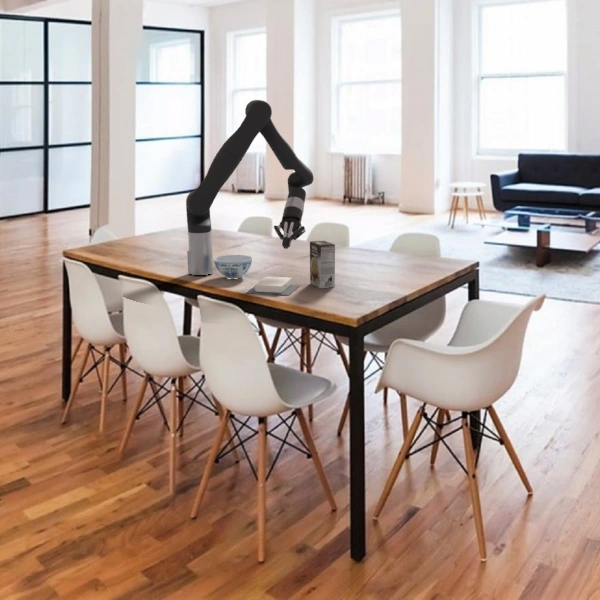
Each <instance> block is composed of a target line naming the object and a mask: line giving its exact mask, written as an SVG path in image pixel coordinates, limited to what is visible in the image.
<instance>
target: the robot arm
mask: <svg viewBox="0 0 600 600" xmlns="http://www.w3.org/2000/svg"><path fill="white" fill-rule="evenodd" d="M244 110H245V112H244V113H245V117H244V118H243V120H242V123H240V125H239V126H238V128H237V129H236V131H234V133H232V134H231V135H230V136H229V138H227V140H225V142H224V143H223V144H222V146H220V148H219V150H218V151H217V153H216V155H215V156H214V158H213V160H212V161H211V163H210V165H209V168H208V169H207V173H206V175H205V177H204V178H203V180H202V182H201V183H200V184H199V185H198V186H197V188H195V190H192V191H190V193H188V195H187V196H186V199H185V200H186V201H185V207H186V208H185V209H186V223H187V224H186V225H187V238H188V250H187V251H186V255H187V259H186V260H187V275H188V274H192V275H191V276H194V275H206V276H209V275H208V274H211V275H213V274H214V256H213V237H212V221H211V207H212V205H213V203H214V201H215V199H216V198H217V196H218V193H219V191H221V189H222V188H223V186H224V185H225V184H226V183H227V181H228V180H229V178H230V177H231V176H232V175H233V173H234V172H235V170H236V169H237V167H238V166H239V165H240V163H241V161H242V160H243V158H244V157H245V155H246V154H247V152H248V150H249V149H250V147H251V145H252V143H253V142H254V139H256V137H257V136H258V135H259V133H260V135H261V136H262V137H263V138H264V140H265V142H266V143H267V145H268V146H269V148H270V149H271V151H272V152H273V155H274V156H275V157H276V159H277V161H278V162H279V164H280V165H281V166H282V168H283V169H284V170H286V171H290V170H291V171H294V172H292V173H290V174H289V176H288V177H287V190H288V194H287V199H286V201H285V205H284V208H283V213H282V218H281V221H280V222H279V224H278V225H274V226H273V229H274V231H275V233H276V235H277V236H278V238H279V239H280V240H282V243H281V244H282V245H281V246H282V248H283V249H286V250H288V249H289V248H290V247H291V243H292V241H296V240H297V239H299V238H300V237H301V236H302V235H303V234H304V233H306V228H305V226H304V225H302V218H303V214H304V210H305V201H306V197H307V192H306V190H305V189H304V188H305V187H307V186H311V184H313V183H314V179H315V178H314V173H313V172H312V170H311V169H310V167H308V166H307V165H306V164H305V163H304V162H303V161H302V160H301V159H299V157H298V155H297V154H296V152H295V151H294V150H293V148H292V146H291V145H290V144H289V142H288V141H287V140H286V139H285V137H283V135H282V134H281V133H280V132H279V130H278V129H277V127H276V125H275V124H274V122H273V120H272V115H273V114H272V113H273V112H272V111H273V110H272V107H271V104H269V103H268V101H266V100H261V99H253V100H251V101H249V102H248V103H247V105H246V106H245V109H244ZM281 230H282V232H283V233H282V232H281ZM212 273H213V274H212Z"/></svg>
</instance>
